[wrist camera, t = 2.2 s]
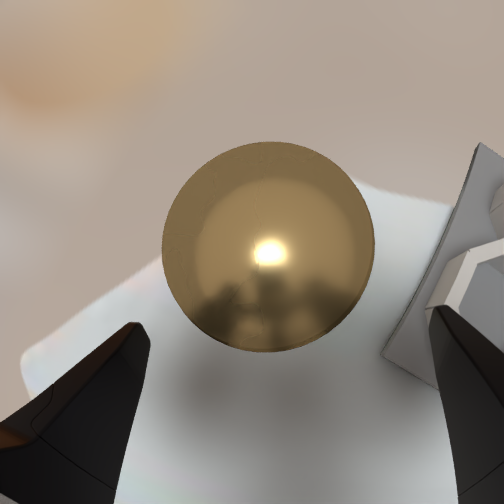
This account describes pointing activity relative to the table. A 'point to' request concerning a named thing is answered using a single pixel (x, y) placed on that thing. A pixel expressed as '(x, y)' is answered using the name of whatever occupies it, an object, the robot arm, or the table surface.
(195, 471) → the table surface
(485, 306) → the manifold plate
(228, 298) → the gold metal cylinder
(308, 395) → the table surface
